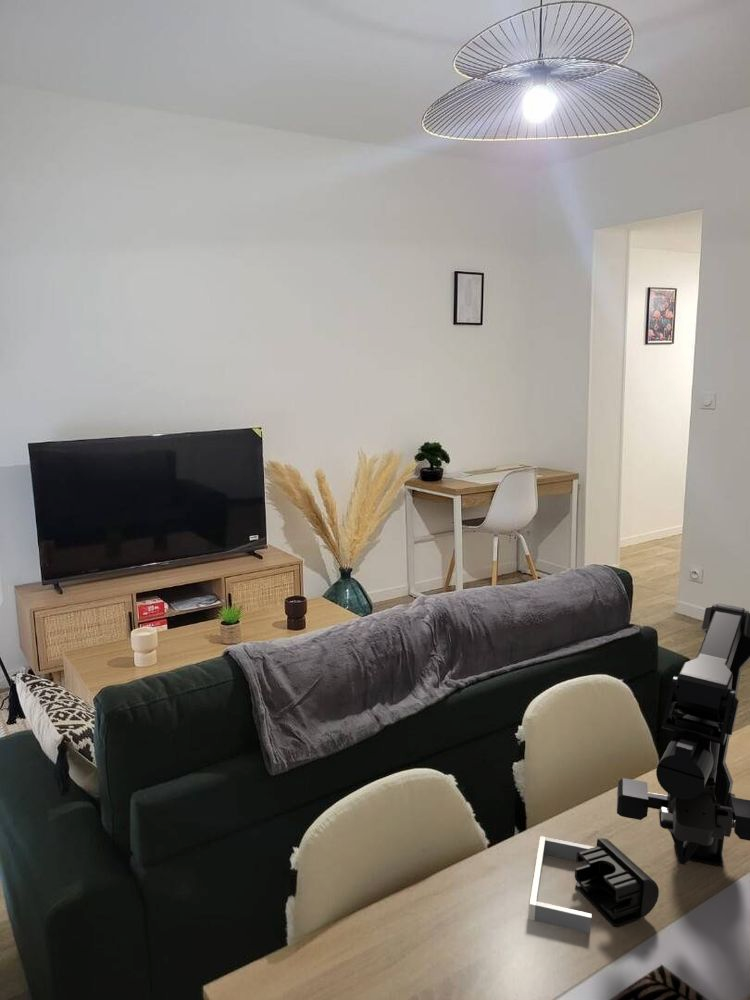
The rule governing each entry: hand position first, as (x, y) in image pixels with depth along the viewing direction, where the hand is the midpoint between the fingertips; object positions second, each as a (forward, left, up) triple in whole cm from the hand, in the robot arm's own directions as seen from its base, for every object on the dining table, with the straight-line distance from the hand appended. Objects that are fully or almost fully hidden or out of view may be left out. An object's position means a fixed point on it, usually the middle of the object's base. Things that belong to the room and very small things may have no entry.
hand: (682, 862), depth 108 cm
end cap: (+9, 0, -9) cm, 12 cm away
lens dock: (+16, 0, -8) cm, 17 cm away
